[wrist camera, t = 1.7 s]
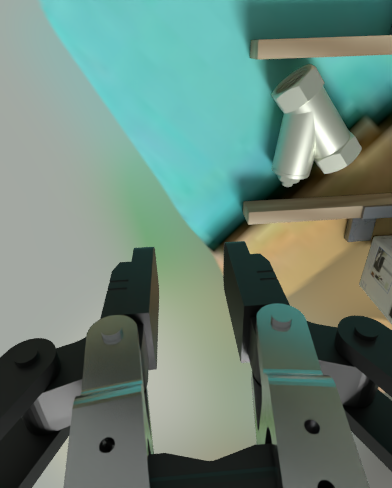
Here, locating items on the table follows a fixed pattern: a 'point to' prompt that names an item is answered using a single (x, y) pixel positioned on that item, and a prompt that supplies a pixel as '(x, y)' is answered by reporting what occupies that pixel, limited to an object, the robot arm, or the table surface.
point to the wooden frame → (316, 205)
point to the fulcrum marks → (366, 220)
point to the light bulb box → (379, 274)
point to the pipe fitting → (309, 129)
